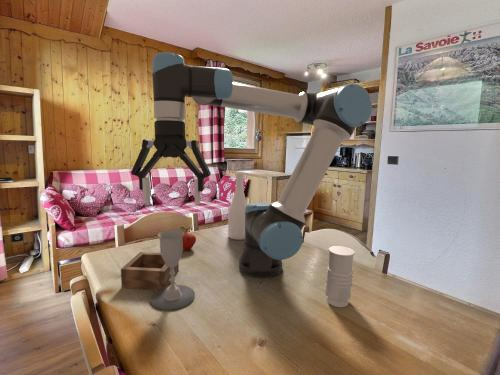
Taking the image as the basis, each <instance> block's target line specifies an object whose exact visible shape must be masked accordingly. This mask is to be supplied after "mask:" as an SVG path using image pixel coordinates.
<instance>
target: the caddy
mask: <svg viewBox="0 0 500 375" xmlns="http://www.w3.org/2000/svg"><path fill="white" fill-rule="evenodd" d="M170 270H171V269H170V267H167V265H166V263H165V262H164V260H163V258H162V256H161V253H160V252H149V251H140V252H138V253H137V254H136V255H135V256H134V257H133V258H132V259H130V261H128V262H127V263H126V264H125V265H124V266H122V267H121V268H120V279H121V281H120V282H121V289H129V290H147V291H148V290H149V291H157V290H158V289H160V288H161V289H165V288H166V287H167V286H170V285H171V282H170V281H169V279H170V278H171V276H170V274H169V273H170ZM174 272H175V274H174V278H176V275H177V274H178V272H179V263H178V264H177V266H175V267H174Z"/></svg>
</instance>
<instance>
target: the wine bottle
mask: <svg viewBox="0 0 500 375" xmlns="http://www.w3.org/2000/svg"><path fill="white" fill-rule="evenodd" d="M244 177H245V172H244V171H236V172H235V191H234V195H233V197H232V200H231V203H230V205H229V206H230V207H229V210H228V215H227V218H228V221H227V223H228V224H227V226H228V227H227V228H228V229H227V236H228V238H230V239H232V240H235V241H238V240H239V241H240V240H241V241H242V240H245V209H246V206H247V205H248V201H247V200H246V196H245V192H244Z"/></svg>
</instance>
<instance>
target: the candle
mask: <svg viewBox="0 0 500 375" xmlns="http://www.w3.org/2000/svg"><path fill="white" fill-rule="evenodd" d="M328 252H329V254H328V256H329V257H328V266H327V267H326V279H325V281H326V286H325V287H326V288H325V295H326V296H327V297H326V302H327V303H328V304H330V305H331V306H334V307H337V308H344V307H347V306H348V305H349V300H350V299H351V298H352V296H351V294H352V293H351V289H352V286H353V278H354V277H353V275H354V270H353V262H354V255H355V251H354V249H353V248H350V247H348V246H344V245H333V246H330V247H328Z"/></svg>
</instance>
